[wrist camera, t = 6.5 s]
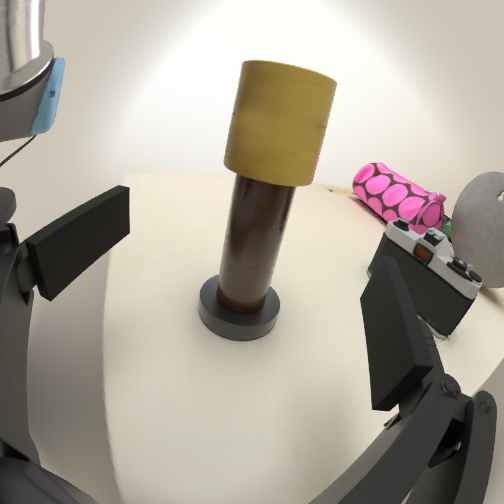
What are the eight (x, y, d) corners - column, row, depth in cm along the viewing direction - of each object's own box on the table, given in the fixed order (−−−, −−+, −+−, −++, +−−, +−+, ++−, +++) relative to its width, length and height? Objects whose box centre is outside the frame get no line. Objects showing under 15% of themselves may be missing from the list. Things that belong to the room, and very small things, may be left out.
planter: (508, 308, 29) (557, 209, 19) (496, 314, 27) (552, 201, 17) (446, 248, 44) (480, 161, 34) (427, 246, 42) (464, 150, 32)
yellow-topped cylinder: (188, 292, 22) (218, 62, 13) (253, 281, 25) (300, 81, 16) (216, 349, 17) (272, 54, 9) (289, 329, 20) (366, 91, 12)
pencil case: (437, 249, 42) (458, 200, 37) (408, 248, 39) (431, 191, 34) (373, 200, 59) (386, 160, 54) (341, 194, 56) (355, 151, 51)
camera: (463, 320, 25) (496, 254, 21) (446, 346, 21) (491, 267, 16) (387, 268, 34) (409, 206, 30) (356, 281, 30) (381, 206, 26)
